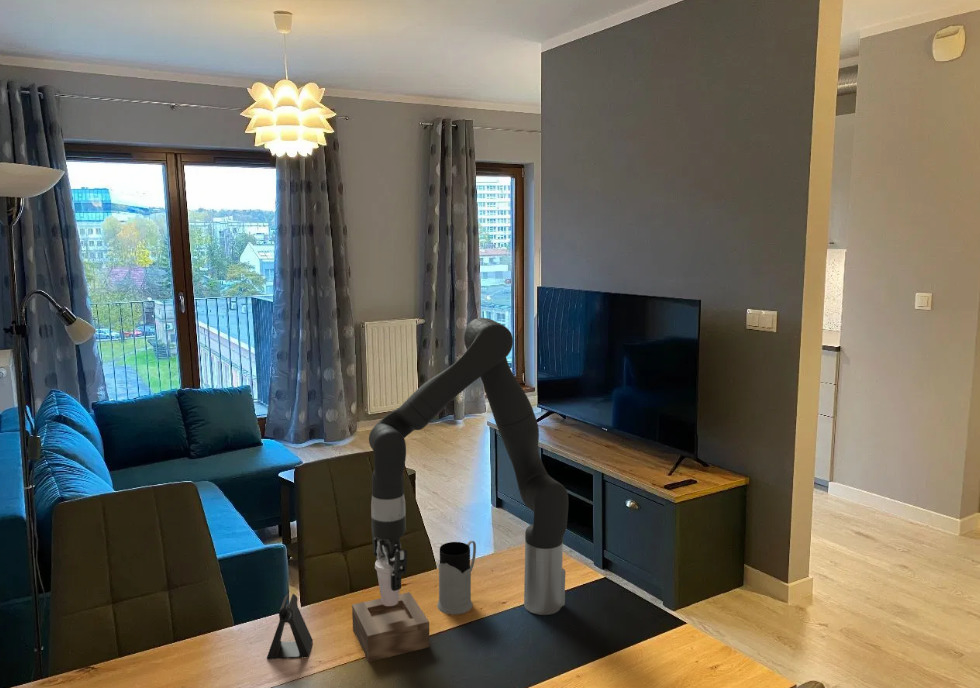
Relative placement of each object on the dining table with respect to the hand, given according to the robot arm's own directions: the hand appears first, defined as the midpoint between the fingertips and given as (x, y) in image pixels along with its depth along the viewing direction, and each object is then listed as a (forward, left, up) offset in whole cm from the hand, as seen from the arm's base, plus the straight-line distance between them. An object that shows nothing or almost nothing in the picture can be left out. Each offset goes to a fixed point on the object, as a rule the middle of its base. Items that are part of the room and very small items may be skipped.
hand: (389, 582), depth 165 cm
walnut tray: (0, 0, -14) cm, 14 cm away
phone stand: (+21, -7, -14) cm, 26 cm away
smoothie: (0, 0, -5) cm, 5 cm away
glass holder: (-22, -6, -14) cm, 27 cm away
